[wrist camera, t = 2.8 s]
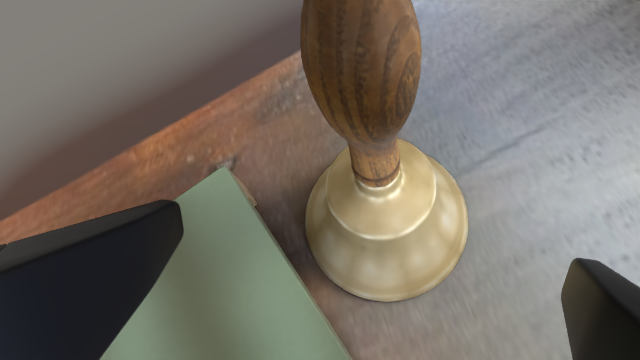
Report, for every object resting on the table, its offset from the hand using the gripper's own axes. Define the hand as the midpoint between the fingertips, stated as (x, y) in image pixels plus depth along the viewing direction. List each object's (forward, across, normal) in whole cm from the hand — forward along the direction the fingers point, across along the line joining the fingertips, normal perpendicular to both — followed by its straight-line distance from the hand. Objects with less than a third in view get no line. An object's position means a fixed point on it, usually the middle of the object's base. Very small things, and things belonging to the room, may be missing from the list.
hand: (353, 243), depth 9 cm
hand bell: (+11, 0, +6) cm, 12 cm away
